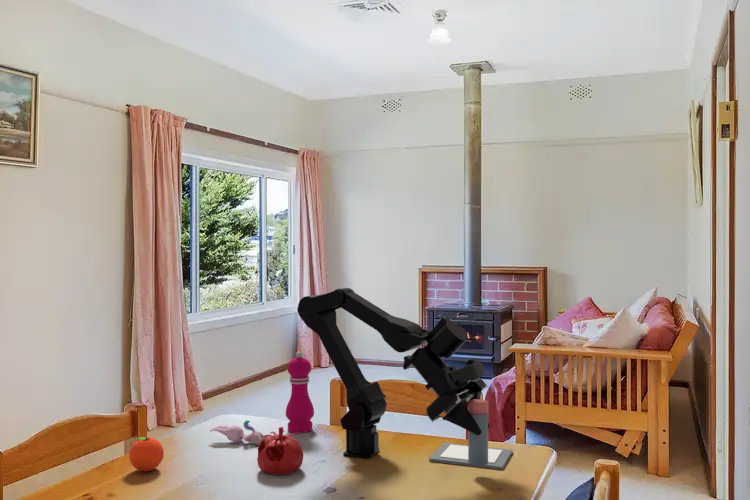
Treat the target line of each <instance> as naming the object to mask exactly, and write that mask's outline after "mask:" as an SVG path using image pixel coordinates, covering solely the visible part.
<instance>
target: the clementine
mask: <svg viewBox="0 0 750 500" xmlns="http://www.w3.org/2000/svg"><path fill="white" fill-rule="evenodd" d="M135 440H136V441H135ZM134 441H135V442H134ZM133 442H134V443H133ZM131 445H132V446H131ZM129 449H130V450H129V462H130V464H131V466H132V467H134V469H135V470H138V471H140V472H151V471H153V470H155V469H156V468H158V466H159V465H160V464H161V463H162V462H163V459H164V446H163V445H162V443H161V442H160V441H159V440H158V439H156V438H154V437H152V436H151V437H150V436H149V437H148V436H146V437H145V436H142V437H137V438H135V439H133V440H132V441H131V442H130V445H129Z"/></svg>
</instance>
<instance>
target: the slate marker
mask: <svg viewBox="0 0 750 500" xmlns="http://www.w3.org/2000/svg"><path fill="white" fill-rule="evenodd" d="M468 411H469V413H470V414H471V416H472V417H473V418H474V420H475V421H476V423H477V424H478V426H479V428H480V429H481V431H482V433H481V434H480V435H476V434H474V433H472V432H470V431H468V430H467V431H468V433H467V435H468V436H467V438H468V439H467V443H468V444H467V445H468V463H469V464H471V465H475V466H484V465H487V464H488V447H489V429H488V423H489V401H488V400H486V399H481V398H480V399H473V400H469V401H468ZM475 466H474V467H475Z"/></svg>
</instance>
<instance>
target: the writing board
mask: <svg viewBox="0 0 750 500" xmlns="http://www.w3.org/2000/svg"><path fill="white" fill-rule="evenodd" d="M512 455H513V449H507V448H500V447H489V446H488V464H487V465H484V466H475V465H471V464H469V463H468V444H463V443H462V444H459V443H451V442H443V443H442V444H441V445H440V447H438V449H436V450H435V452H433V454H432V455H431V456H430V457H429V459H428V460H429V461H428V462H434V463H435V462H436V463H442V464H451V465H459V466H467V467H476V468H484V469H495V470H502V471H503V469H504V468H505V466H506V465H507V463H508V461H509V459H510V458H511V456H512Z"/></svg>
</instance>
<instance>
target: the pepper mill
mask: <svg viewBox="0 0 750 500" xmlns="http://www.w3.org/2000/svg"><path fill="white" fill-rule="evenodd" d="M303 355H304V354H303V351H302V352H301V351H297V352H296V353H295V357H294V358H291V360H289V362H288V364H287V373H288V374H289V375H290V377H289V384H291V393H290V397H289V401H288V402H287V405H286V408H285V417H286V418H287V419H288V422H287V431H288V432H289V433H298V434H300V433H301V434H303V433H308V432H310V431H312V430H313V421H311V419H312V418H314V415H315V409H314V405H313V403H312V400H311V398H310V395H309V390H308V387H309V386H308V383H310V376H309V374H310V373H311V371H312V365H311V362H310V360H308V359H307V358H305V357H303Z"/></svg>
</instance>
